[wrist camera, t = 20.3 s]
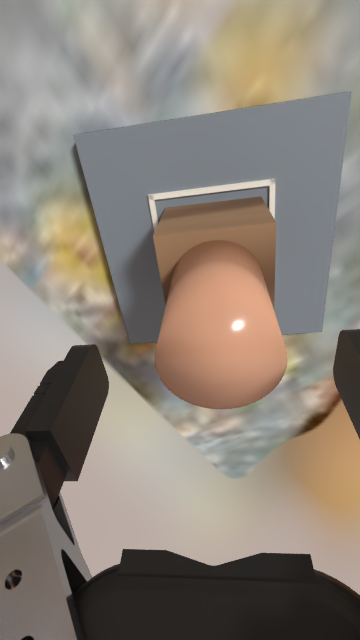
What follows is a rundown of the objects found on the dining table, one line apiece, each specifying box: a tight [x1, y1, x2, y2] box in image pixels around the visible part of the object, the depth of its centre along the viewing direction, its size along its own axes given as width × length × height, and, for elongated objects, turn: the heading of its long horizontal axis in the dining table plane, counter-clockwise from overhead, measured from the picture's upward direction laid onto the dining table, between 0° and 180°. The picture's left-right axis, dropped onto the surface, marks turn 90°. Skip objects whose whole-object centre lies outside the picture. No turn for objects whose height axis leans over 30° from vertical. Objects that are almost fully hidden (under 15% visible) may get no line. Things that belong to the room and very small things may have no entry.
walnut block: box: [153, 196, 276, 308], centre depth 18 cm, size 6×6×5 cm
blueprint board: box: [73, 92, 351, 344], centre depth 20 cm, size 14×14×1 cm
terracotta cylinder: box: [155, 240, 287, 409], centre depth 13 cm, size 4×4×6 cm
